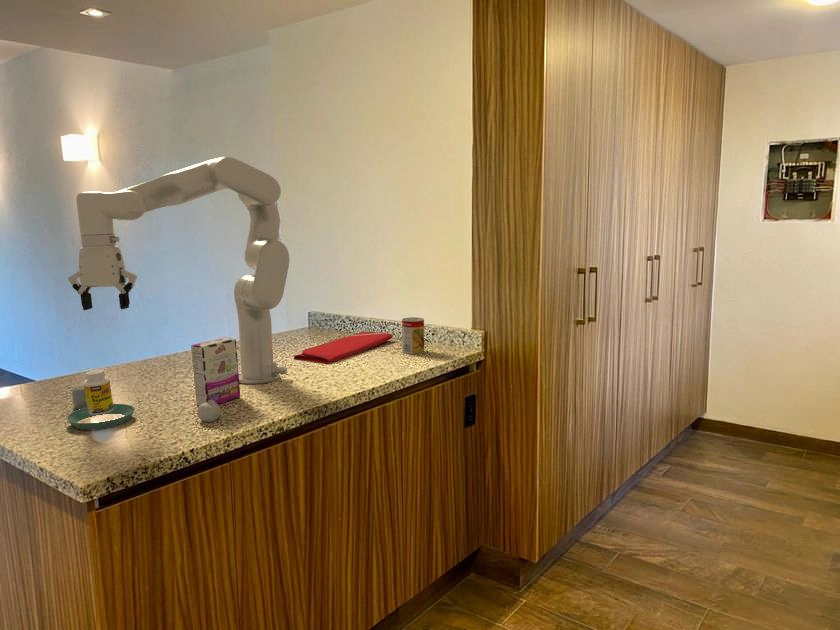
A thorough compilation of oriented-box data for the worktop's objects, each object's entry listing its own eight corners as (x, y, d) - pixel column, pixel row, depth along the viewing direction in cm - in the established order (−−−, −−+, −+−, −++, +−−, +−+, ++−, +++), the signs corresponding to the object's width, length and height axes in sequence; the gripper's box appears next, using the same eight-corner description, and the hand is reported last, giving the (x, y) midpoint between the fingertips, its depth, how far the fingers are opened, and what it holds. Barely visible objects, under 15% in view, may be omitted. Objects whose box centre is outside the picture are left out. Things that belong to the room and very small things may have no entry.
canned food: (428, 351, 222) (428, 318, 220) (416, 355, 216) (416, 321, 214) (410, 348, 226) (409, 316, 224) (398, 353, 220) (397, 319, 218)
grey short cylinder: (109, 402, 165) (107, 384, 165) (93, 410, 158) (91, 391, 158) (84, 401, 166) (82, 383, 165) (67, 410, 159) (65, 391, 158)
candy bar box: (228, 395, 171) (224, 336, 168) (241, 397, 168) (237, 338, 165) (194, 405, 161) (190, 344, 159) (207, 408, 159) (203, 346, 156)
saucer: (59, 436, 141) (58, 425, 140) (76, 416, 155) (75, 406, 154) (130, 430, 145) (129, 419, 144) (140, 411, 159) (139, 401, 158)
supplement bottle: (92, 418, 145) (84, 377, 143) (86, 412, 149) (78, 371, 147) (117, 411, 149) (110, 371, 146) (110, 405, 153) (104, 366, 150)
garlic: (226, 420, 150) (225, 399, 149) (205, 426, 146) (204, 404, 145) (213, 415, 153) (212, 394, 153) (193, 420, 149) (191, 399, 149)
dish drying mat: (292, 360, 212) (292, 350, 212) (360, 339, 248) (360, 330, 247) (329, 365, 205) (329, 354, 204) (393, 342, 240) (393, 333, 239)
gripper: (139, 240, 158) (146, 305, 161) (73, 241, 159) (81, 307, 162) (124, 241, 151) (132, 310, 154) (55, 243, 152) (64, 312, 155)
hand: (106, 308), depth 158 cm, fingers open, 9 cm apart
